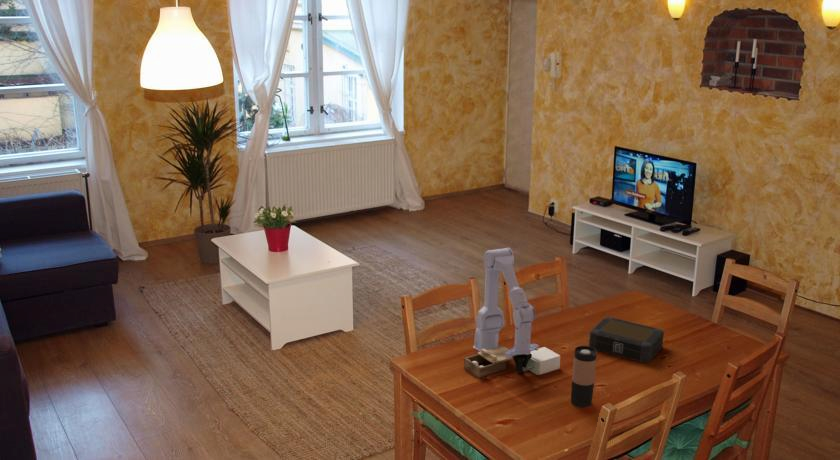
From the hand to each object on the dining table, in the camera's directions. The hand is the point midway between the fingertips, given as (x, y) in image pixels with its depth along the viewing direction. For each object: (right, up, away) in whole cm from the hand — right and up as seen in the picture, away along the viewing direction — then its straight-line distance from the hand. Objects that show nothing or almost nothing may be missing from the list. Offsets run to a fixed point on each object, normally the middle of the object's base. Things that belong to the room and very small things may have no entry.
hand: (520, 371), depth 303 cm
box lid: (-8, +5, +6) cm, 11 cm away
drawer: (+6, -1, +4) cm, 7 cm away
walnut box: (-13, 0, +4) cm, 14 cm away
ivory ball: (-17, 0, +4) cm, 17 cm away
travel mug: (+19, -8, -18) cm, 27 cm away
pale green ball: (-14, -1, +1) cm, 15 cm away
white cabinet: (+9, 0, +6) cm, 11 cm away
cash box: (+46, +5, +27) cm, 53 cm away
